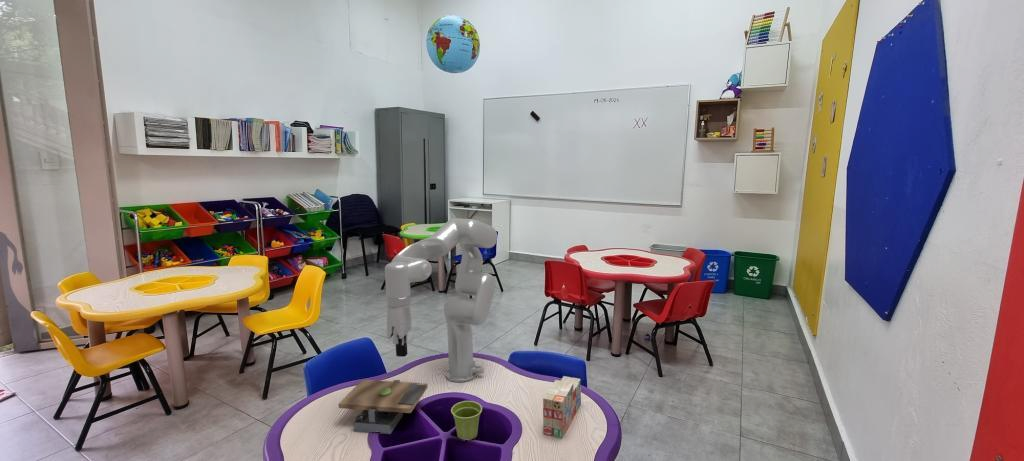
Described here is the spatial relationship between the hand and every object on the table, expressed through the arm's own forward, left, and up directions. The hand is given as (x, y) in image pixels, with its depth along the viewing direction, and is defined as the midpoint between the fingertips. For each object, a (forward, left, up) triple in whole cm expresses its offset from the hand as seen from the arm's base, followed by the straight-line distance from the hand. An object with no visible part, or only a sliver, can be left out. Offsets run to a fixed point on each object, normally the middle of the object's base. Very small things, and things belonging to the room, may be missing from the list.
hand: (401, 355), depth 145 cm
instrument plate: (+7, 0, -15) cm, 17 cm away
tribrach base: (+7, 0, -21) cm, 22 cm away
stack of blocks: (-52, -5, -22) cm, 56 cm away
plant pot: (-23, +8, -22) cm, 33 cm away
